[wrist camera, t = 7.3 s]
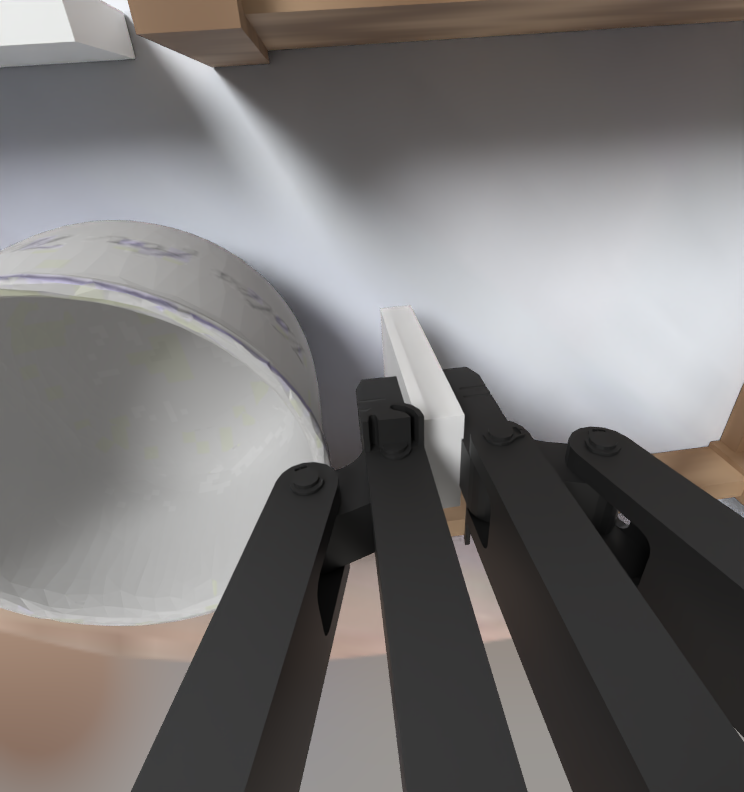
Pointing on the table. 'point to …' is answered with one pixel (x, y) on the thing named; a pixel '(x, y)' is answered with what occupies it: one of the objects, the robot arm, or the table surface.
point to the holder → (61, 32)
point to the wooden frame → (434, 20)
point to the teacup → (140, 420)
